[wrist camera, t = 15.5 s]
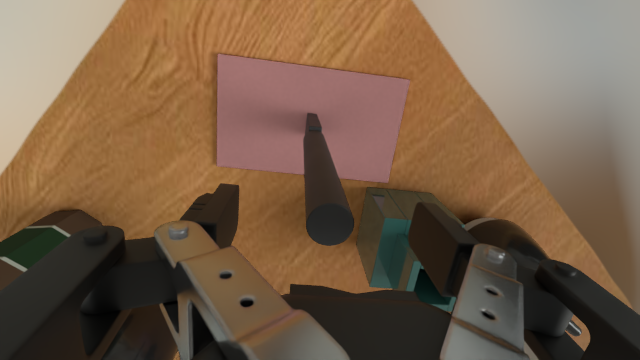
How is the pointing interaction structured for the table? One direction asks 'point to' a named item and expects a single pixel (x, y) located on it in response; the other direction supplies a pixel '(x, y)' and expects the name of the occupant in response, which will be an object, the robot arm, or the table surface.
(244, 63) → the place mat
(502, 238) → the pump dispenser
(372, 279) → the green square vase
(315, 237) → the stepped grey rod
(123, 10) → the table surface
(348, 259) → the table surface
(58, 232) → the beer bottle
